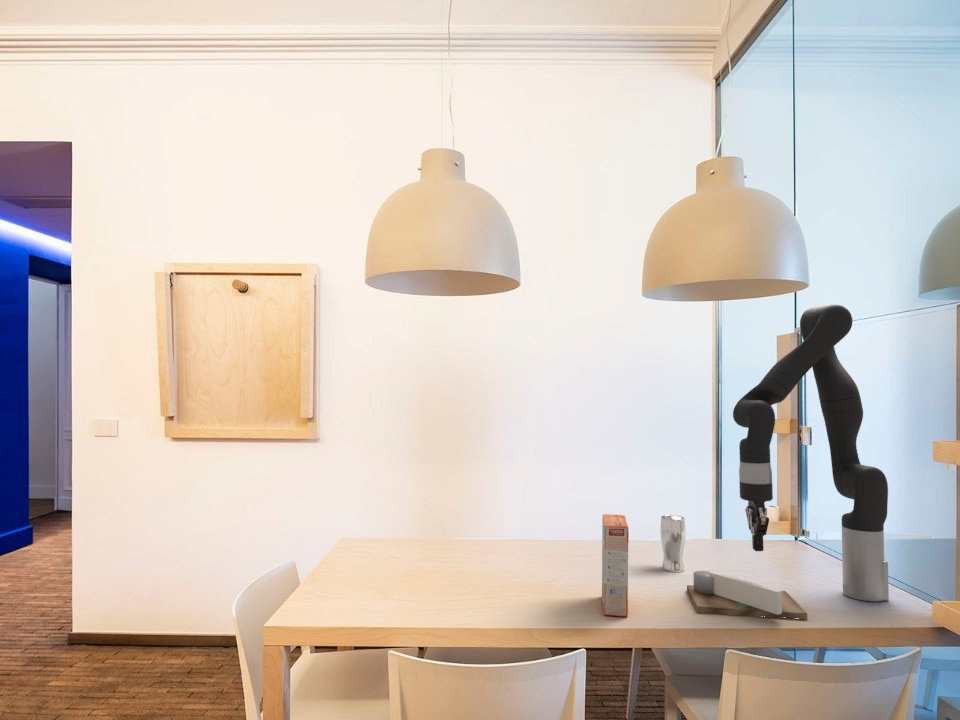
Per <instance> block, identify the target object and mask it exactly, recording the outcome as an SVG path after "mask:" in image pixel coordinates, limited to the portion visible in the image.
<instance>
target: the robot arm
mask: <svg viewBox="0 0 960 720" xmlns="http://www.w3.org/2000/svg"><path fill="white" fill-rule="evenodd" d="M852 327H853V315H852V313H851V311H850V310H849V309H848V308H847V307H845V306H843V305H842V304H841V305H840V304H826V305H820V306H814V307H811V308H808V309H806V310H804V312H803V313H802V314H801V316H800V319H799V330H800V333H801V337H802V340H803V341H802V342H801V343H800V344H799V345H797V347H795V348H794V349H793V350H791V351H790V352H788V353H787V354H785V355H784V356H783V357H782V358H780V359H779V360H778V361H777V362H776V363H775V364H774V365H773V366H772V367H771V369H769V371H768V372H767V374H765V375H764V376H763V378H762V379H761V380H760V382H759V383H758V384H757V385H755V387H753V388H751V389H750V390H749V391H748V392H747V393H746V394H744V395H743V396H742V397H741V398H739V400H738V401H737V402H736V404H735V406H734V408H733V411H732V418H733V420H734V422H735V424H736V425H738V426H740V427H742V428H747V435H746V437H745V438H742V439H741V440H740V442H739V448H738V449H739V467H738V468H739V469H738V477H739V480H738V481H739V482H738V483H739V498H740V499H741V500H743V501H748V502H747V505H746V507H745V510H744V511H745V513H746V515H745V516H746V519H747V525H748V529H749V531H750V534H751V541H752V549H753V551H755V552H763V551H764V536H766V535H767V532H768V527H769V523H770V519H769V517H768V509H767V507H766V506H765V503H766V502H770V501H772V500H773V498H774V497H773V496H774V495H773V494H774V493H773V491H774V490H773V470H772V466H771V447H770V446H771V442H772V440H773V435H774V430H775V425H776V414H775V409H773V405H776V404H779V403H782V402H784V400H786V398H787V397H788V395H789V394H791V392H792V391H793V390H794V388H795V387H796V385H798V384H799V382H800V381H801V379H803V377H804V376H805V375H806V374H807V373H808V372H809V371H810V370H811V369H812V372H813V377H814V379H815V384H816V388H817V394H818V399H819V403H820V408H821V413H822V416H823V420H824V421H823V422H824V425H825V429H826V436H827V440H828V445H829V451H830V452H829V453H830V460H831V470H832V471H831V472H832V478H833V479H832V480H833V484H834V486H835V489H836V491H837V492H838V494H840V495H841V496H842V497H844V498H846V499H851V500H853V509H852V510H851V512H846V513H844V514H842V516H841V552H842V553H841V557H842V558H841V560H842V563H841V564H842V565H841V566H842V570H841V571H842V593H843V594H844V595H845V596H847V597H850V598H852V599H854V600H855V599H856V600H859V601H865V602H882V601H883V602H884V601H890V600H889V599H890V597H889V595H890V594H889V589H890V588H889V563H888V561H887V560H885V532H884V531H885V528H884V527H885V526H884V525H885V522H886V521H887V518H888V517H887V516H888V505H889V500H888V499H889V497H888V496H889V483H888V480H887V477H886V475H885V473H884V472H883V471H882V470H881V469H879V468H877V467H876V466H870V465H864V464H861V461H860V458H859V454H858V453H859V452H858V448H857V439H858V435H859V432H860V429H861V426H862V422H863V418H864V410H863V409H864V408H863V404H862V397H861V395H860V391H859V388H858V385H857V384H856V382H855V381H854V379H853V377H852V376H851V375H850V374H849V372H848V371H847V370H846V369H845V367H844V366H843V364H842V363H841V361H840V360H839V358H838V355H837V353H836V349H835V346H836V345H837V344H838V343H840V341H842V340H843V339H844V338H845V337H846V336H847V335H848V334H849V333H850V331H851V329H852Z"/></svg>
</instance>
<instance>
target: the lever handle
mask: <svg viewBox="0 0 960 720" xmlns="http://www.w3.org/2000/svg"><path fill="white" fill-rule="evenodd" d="M693 585H694V590H695V591H696V592H699V593H702V594H715V595H718V596H721V597H724V598H728V599H731V600H734V601H737V602H740V603H743V604H746V605H749V606H752V607H755V608H759V609H762V610H765V611H768V612H771V613H774V614H777V615H779V614H782V591H783V590H779V589H776V588H772V587H769V586H765V585H762V584H758V583H755V582H752V581H748V580H745V579H741V578H738V577H735V576H732V575H731V576H730V575H727V574H724V573H720V572H717V571H714V570H713V571H709V570H695V571H694V572H693Z"/></svg>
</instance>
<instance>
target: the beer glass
mask: <svg viewBox="0 0 960 720" xmlns="http://www.w3.org/2000/svg"><path fill="white" fill-rule="evenodd" d="M685 520H686V519H685V517H684V516H682V515H676V514H675V515H672V514H666V515H661V516H660V529H659V530H660V539H661V545H662V546H661V547H662V552H663V561H662V566H661V568H662V570H664V571H665V572H669V571H670V572H671V573H682V572H684V571H685V567H684V560H683V557H684V556H683V554H684V547H685V543H686V522H685Z"/></svg>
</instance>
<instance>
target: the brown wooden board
mask: <svg viewBox="0 0 960 720" xmlns="http://www.w3.org/2000/svg"><path fill="white" fill-rule="evenodd" d="M781 591H782V614H779V615H777V614H774V613H771V612H768V611H765V610H762V609H759V608H755V607H752V606H749V605H746V604H743V603H740V602H737V601H734V600H731V599H728V598H724V597H721V596H718V595H715V594H702V593H699V592H696V591H695V590H694V584H693V585H691V584H687V585H686V592H687V594H688V596H689V598H690V600H691V602H692V605H693V606H694V608H695V610H696V613H698V614H710V615H725V616H738V617H739V616H741V617H742V616H743V617H754V616H763V617H762V618H769V617H786V618H799V619H807V620H808V613H807V611H805V610H804V609H803V607H801V605H800V604H799V603H798V602H797V601H796V600H795V599H794V598H793V596H791V595H790V594H789V593H788V592H787V591H786V590H781ZM764 616H765V617H764ZM799 619H798V620H799Z"/></svg>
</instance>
